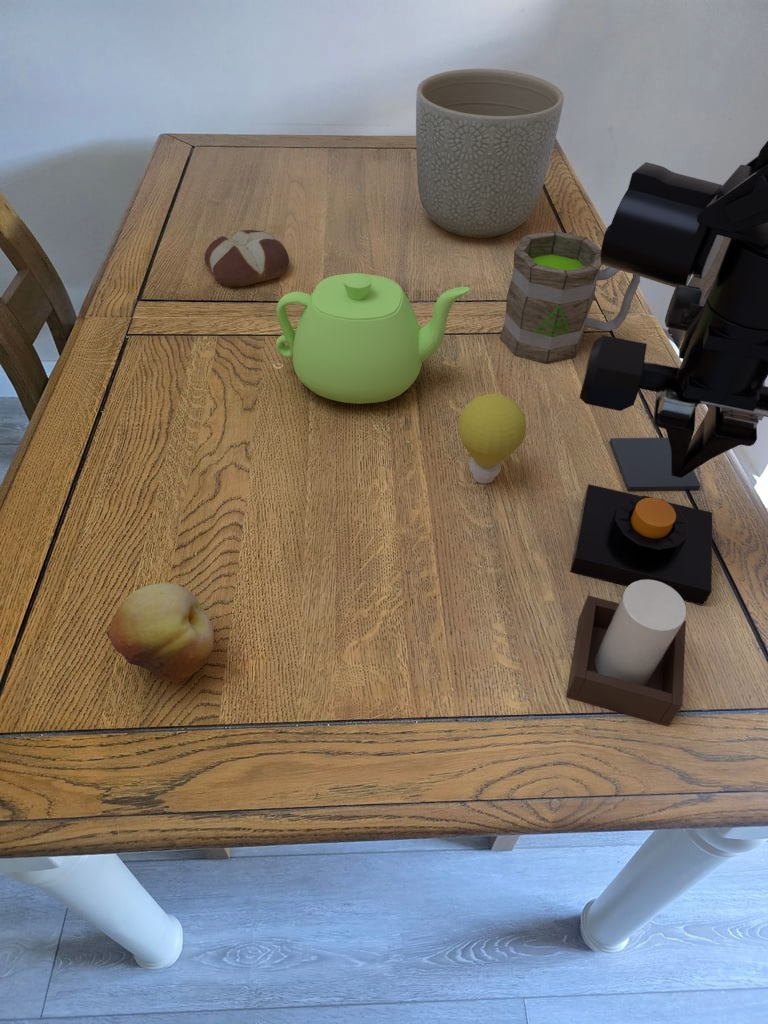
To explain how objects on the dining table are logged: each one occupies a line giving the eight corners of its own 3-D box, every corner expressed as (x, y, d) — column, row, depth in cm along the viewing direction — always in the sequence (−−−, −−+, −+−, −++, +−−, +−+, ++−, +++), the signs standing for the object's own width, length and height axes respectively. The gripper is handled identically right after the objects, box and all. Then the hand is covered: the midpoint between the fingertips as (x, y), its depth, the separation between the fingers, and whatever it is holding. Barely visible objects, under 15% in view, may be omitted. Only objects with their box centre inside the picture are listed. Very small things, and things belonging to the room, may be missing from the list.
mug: (503, 362, 88) (518, 274, 80) (496, 315, 96) (509, 229, 87) (628, 366, 88) (658, 278, 79) (612, 318, 96) (637, 233, 87)
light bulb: (528, 478, 75) (546, 403, 67) (484, 508, 72) (498, 433, 64) (482, 445, 78) (494, 371, 71) (438, 472, 75) (446, 398, 68)
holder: (672, 643, 61) (686, 620, 59) (668, 726, 56) (682, 705, 53) (578, 618, 63) (587, 595, 60) (565, 697, 57) (575, 675, 55)
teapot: (459, 348, 90) (470, 251, 81) (457, 424, 80) (469, 324, 71) (289, 337, 91) (280, 240, 82) (266, 411, 81) (252, 310, 72)
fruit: (198, 712, 56) (178, 659, 50) (105, 686, 58) (75, 631, 52) (237, 633, 61) (223, 577, 55) (150, 611, 62) (127, 554, 57)
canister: (652, 651, 60) (687, 588, 53) (649, 698, 57) (685, 637, 50) (597, 636, 61) (625, 572, 54) (591, 682, 58) (620, 620, 51)
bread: (298, 278, 101) (295, 245, 98) (221, 296, 98) (215, 262, 94) (272, 244, 108) (268, 212, 104) (199, 259, 105) (193, 226, 101)
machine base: (704, 527, 70) (719, 499, 67) (703, 605, 64) (719, 579, 61) (583, 498, 73) (592, 471, 70) (570, 572, 66) (579, 544, 63)
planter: (537, 197, 121) (559, 71, 107) (542, 257, 107) (569, 121, 93) (416, 190, 122) (422, 64, 108) (405, 248, 108) (411, 112, 94)
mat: (699, 489, 74) (701, 485, 73) (627, 490, 74) (629, 487, 73) (676, 441, 79) (677, 437, 78) (609, 442, 79) (610, 438, 78)
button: (671, 515, 66) (677, 502, 65) (669, 543, 64) (675, 530, 63) (632, 506, 67) (637, 493, 66) (629, 533, 65) (634, 520, 64)
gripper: (886, 273, 51) (790, 437, 62) (621, 231, 54) (577, 393, 66) (912, 360, 43) (798, 527, 55) (605, 304, 47) (558, 472, 59)
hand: (676, 473), depth 59 cm, fingers closed
